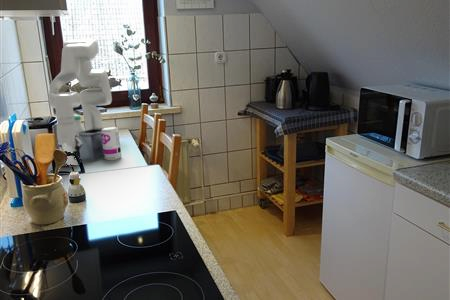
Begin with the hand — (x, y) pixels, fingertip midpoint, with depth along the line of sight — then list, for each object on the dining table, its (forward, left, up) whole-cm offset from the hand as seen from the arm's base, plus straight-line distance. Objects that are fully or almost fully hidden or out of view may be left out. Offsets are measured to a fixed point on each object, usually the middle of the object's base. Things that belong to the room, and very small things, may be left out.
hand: (72, 158), depth 188 cm
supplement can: (+12, +15, -4) cm, 19 cm away
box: (0, +16, -3) cm, 16 cm away
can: (0, 0, -3) cm, 3 cm away
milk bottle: (-12, +17, -4) cm, 21 cm away
